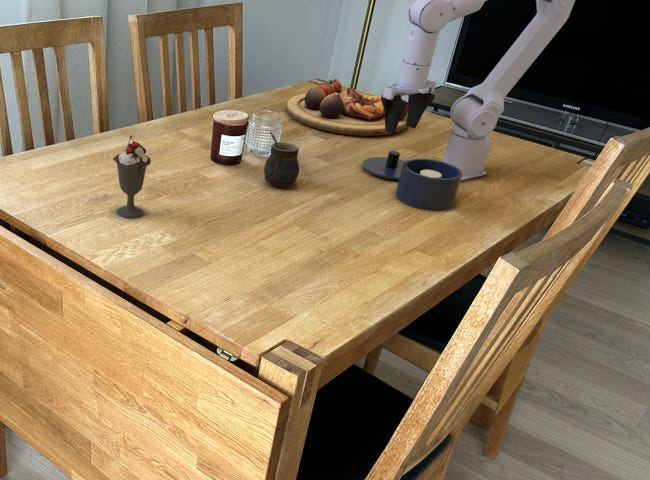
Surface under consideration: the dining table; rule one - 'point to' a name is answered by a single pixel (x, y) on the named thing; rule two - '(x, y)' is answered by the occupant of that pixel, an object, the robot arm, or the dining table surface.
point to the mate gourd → (282, 164)
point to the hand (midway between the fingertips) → (400, 129)
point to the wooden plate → (341, 111)
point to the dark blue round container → (428, 184)
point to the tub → (431, 173)
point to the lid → (385, 165)
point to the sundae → (131, 176)
